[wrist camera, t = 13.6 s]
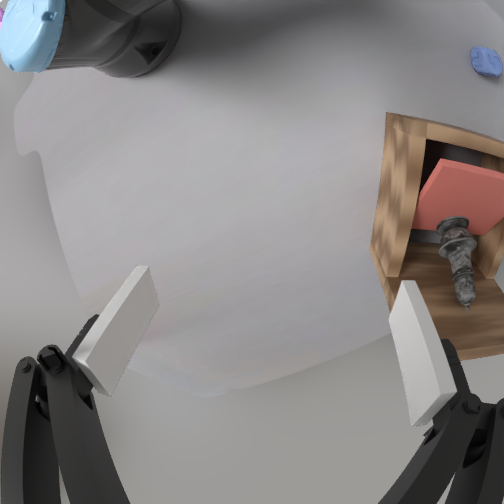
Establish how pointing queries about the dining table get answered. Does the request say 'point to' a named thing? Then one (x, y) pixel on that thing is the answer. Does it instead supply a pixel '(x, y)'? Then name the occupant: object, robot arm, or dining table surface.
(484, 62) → the decorative dice
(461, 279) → the salt shaker
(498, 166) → the wooden box
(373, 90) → the dining table surface
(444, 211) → the trapdoor
